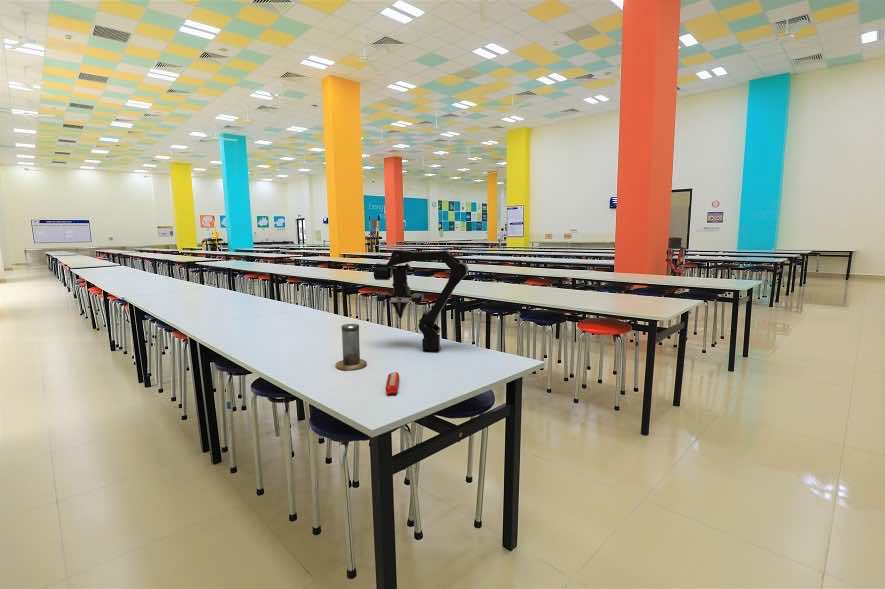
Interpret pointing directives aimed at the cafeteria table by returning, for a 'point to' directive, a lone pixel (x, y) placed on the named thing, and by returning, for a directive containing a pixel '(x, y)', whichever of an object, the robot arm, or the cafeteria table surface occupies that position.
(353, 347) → the tumbler
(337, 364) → the coaster
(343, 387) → the cafeteria table surface
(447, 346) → the cafeteria table surface
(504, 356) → the cafeteria table surface
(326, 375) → the cafeteria table surface
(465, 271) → the robot arm
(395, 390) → the red rounded bar
